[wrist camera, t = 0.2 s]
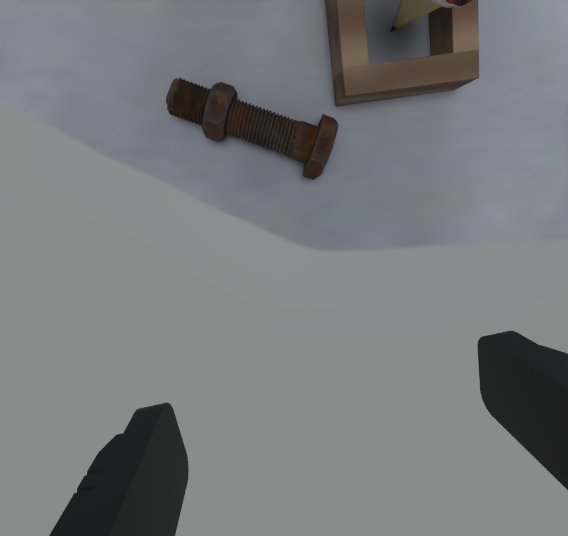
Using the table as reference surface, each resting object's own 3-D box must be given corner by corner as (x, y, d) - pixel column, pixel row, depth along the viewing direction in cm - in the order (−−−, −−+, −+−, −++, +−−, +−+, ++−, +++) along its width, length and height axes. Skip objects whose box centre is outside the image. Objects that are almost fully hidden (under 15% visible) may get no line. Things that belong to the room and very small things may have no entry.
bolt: (183, 97, 35) (324, 147, 37) (165, 137, 34) (313, 188, 35) (178, 46, 30) (344, 108, 31) (156, 92, 28) (332, 154, 30)
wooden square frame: (321, -36, 32) (330, -68, 28) (450, -52, 32) (476, -85, 28) (335, 106, 35) (345, 95, 31) (454, 89, 35) (478, 77, 31)
